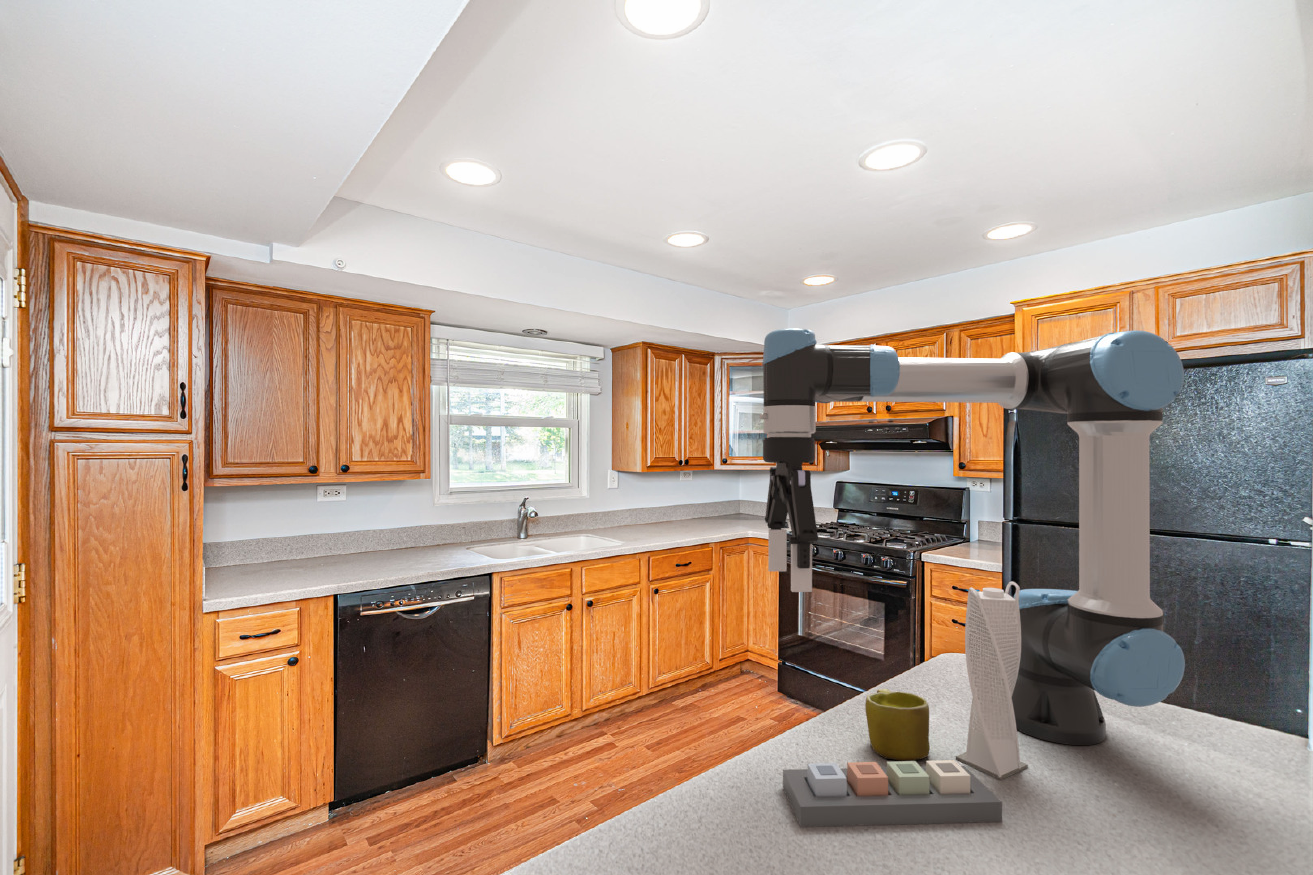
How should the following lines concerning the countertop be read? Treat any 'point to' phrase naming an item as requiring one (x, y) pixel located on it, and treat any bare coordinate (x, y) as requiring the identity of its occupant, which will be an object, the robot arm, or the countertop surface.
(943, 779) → the key ivory
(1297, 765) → the countertop surface
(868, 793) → the key terracotta
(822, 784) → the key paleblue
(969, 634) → the skyscraper
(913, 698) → the mug
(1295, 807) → the countertop surface
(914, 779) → the key sage
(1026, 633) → the robot arm
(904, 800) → the keyguard frame
